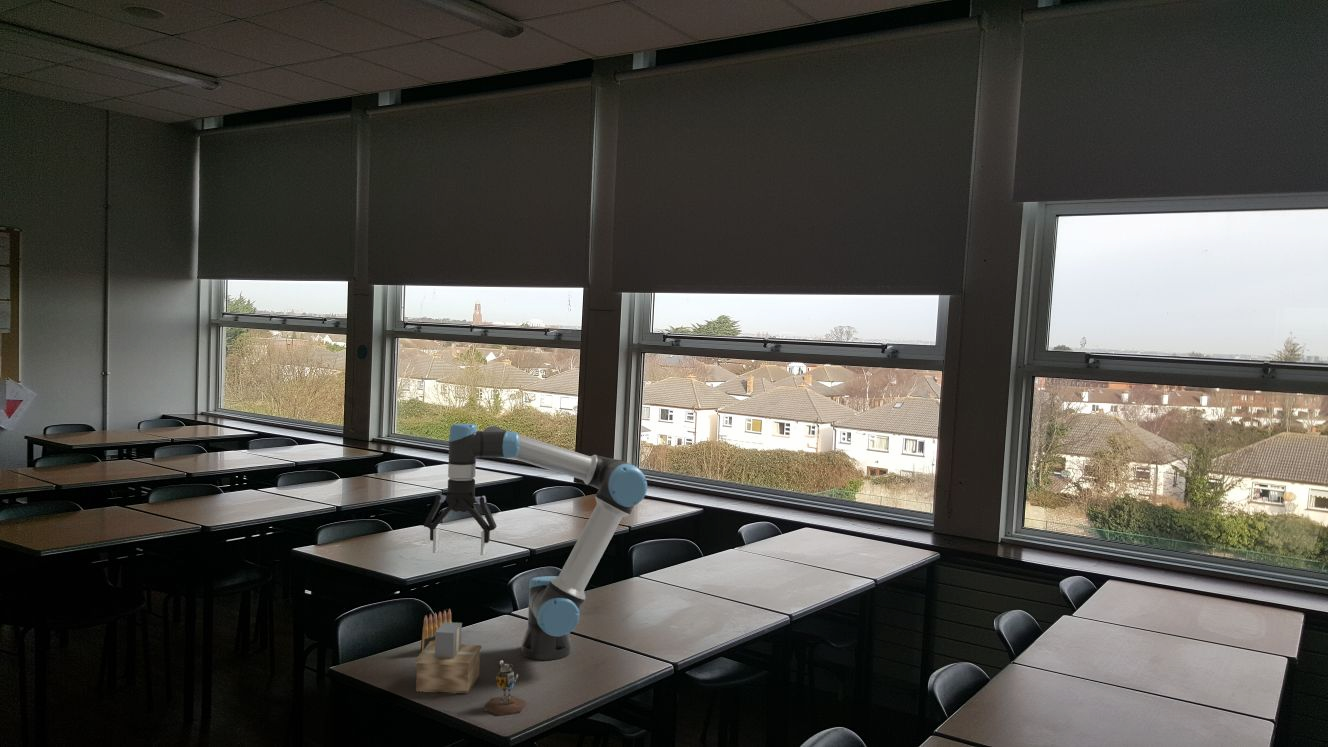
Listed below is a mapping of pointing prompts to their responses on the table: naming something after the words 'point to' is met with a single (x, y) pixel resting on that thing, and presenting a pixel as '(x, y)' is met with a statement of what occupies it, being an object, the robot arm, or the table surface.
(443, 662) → the lid
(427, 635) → the ammunition clip
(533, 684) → the table surface
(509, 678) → the robot figurine
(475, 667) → the crate
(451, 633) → the grey taped box
